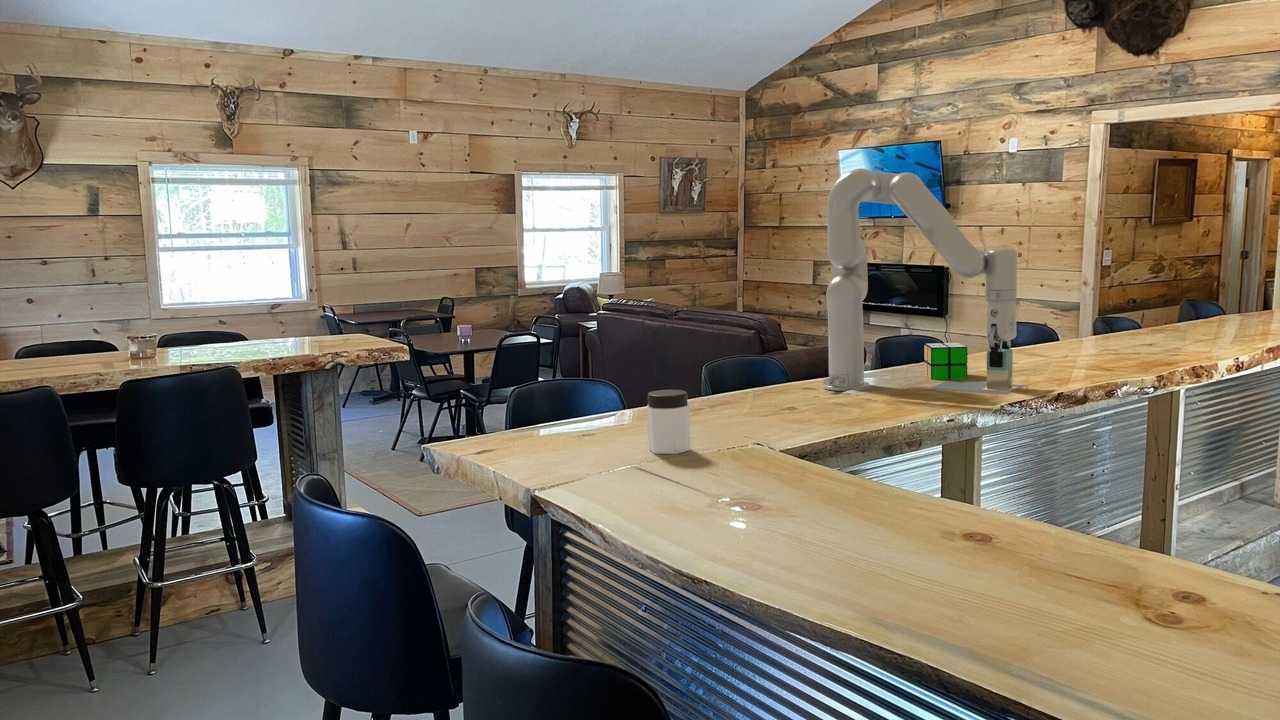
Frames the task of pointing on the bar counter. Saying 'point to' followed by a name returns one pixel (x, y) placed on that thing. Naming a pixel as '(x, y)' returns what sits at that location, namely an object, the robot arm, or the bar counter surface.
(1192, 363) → the bar counter surface
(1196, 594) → the bar counter surface
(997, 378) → the maple block
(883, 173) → the robot arm
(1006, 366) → the teal block
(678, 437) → the jar
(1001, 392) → the slate board
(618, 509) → the bar counter surface
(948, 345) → the puzzle cube
